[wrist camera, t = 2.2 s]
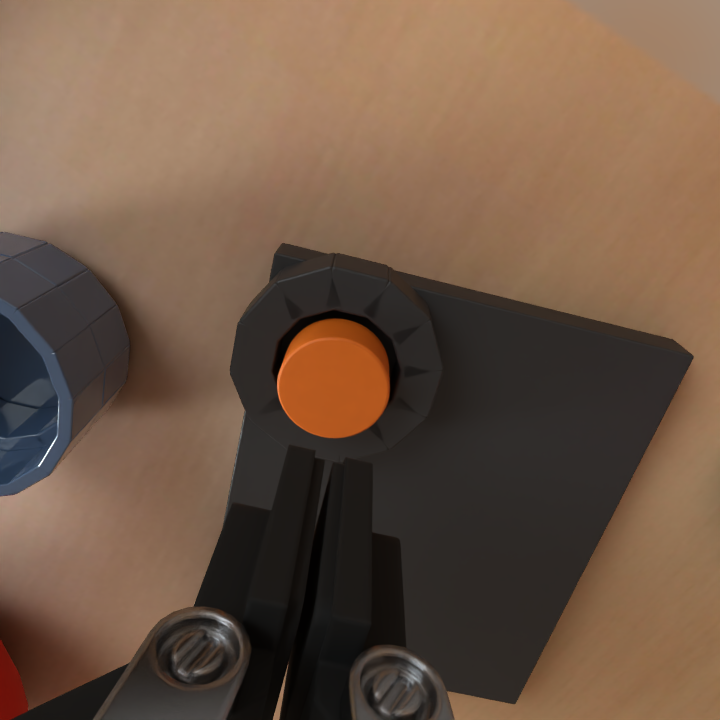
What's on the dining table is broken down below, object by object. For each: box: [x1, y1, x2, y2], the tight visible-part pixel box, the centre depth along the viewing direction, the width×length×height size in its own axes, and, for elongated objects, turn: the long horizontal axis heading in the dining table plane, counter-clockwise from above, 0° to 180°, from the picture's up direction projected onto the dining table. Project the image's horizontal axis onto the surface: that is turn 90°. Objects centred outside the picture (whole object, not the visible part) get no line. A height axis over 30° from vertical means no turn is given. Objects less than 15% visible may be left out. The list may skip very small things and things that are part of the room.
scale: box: [222, 243, 694, 704], centre depth 20 cm, size 16×14×3 cm
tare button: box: [277, 318, 390, 438], centre depth 16 cm, size 3×3×2 cm
